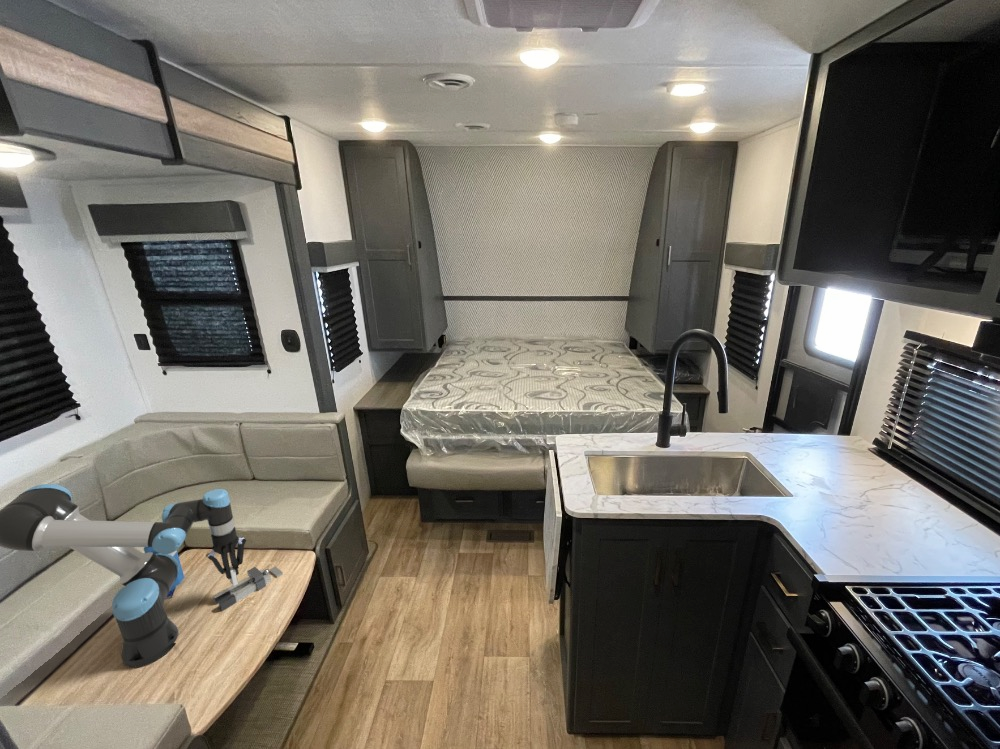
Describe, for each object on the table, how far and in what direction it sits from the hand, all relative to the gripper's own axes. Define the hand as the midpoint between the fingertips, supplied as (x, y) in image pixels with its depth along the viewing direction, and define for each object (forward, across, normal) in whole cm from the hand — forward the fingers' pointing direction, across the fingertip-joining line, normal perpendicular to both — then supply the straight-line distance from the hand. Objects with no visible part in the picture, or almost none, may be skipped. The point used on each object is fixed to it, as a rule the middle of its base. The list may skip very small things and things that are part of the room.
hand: (234, 583), depth 161 cm
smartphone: (+8, +12, -25) cm, 29 cm away
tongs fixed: (+6, -5, 0) cm, 8 cm away
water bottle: (+8, +12, -30) cm, 33 cm away
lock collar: (+6, -7, +1) cm, 9 cm away
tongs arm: (+6, -3, -1) cm, 7 cm away
